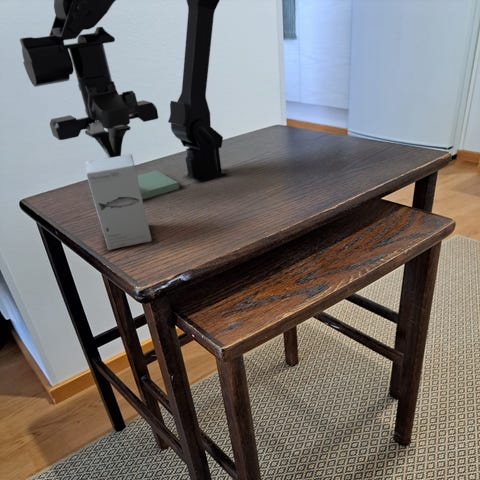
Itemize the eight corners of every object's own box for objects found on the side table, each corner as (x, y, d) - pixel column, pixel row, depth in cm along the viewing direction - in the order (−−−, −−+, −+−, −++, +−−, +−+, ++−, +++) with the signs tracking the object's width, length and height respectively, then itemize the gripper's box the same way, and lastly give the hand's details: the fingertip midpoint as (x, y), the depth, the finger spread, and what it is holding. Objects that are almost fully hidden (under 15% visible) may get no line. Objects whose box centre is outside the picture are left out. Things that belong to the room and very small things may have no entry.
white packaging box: (107, 251, 72) (83, 173, 65) (106, 234, 78) (84, 160, 71) (153, 242, 73) (134, 164, 66) (148, 225, 79) (131, 152, 72)
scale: (157, 176, 102) (154, 163, 101) (181, 189, 93) (178, 175, 91) (98, 192, 97) (94, 179, 95) (117, 208, 88) (113, 194, 86)
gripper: (49, 89, 68) (80, 189, 77) (161, 69, 75) (177, 163, 84) (35, 84, 77) (65, 175, 86) (137, 67, 84) (155, 152, 93)
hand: (117, 166), depth 87 cm, fingers closed
